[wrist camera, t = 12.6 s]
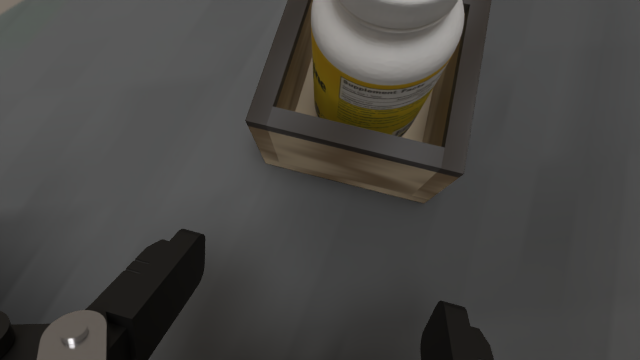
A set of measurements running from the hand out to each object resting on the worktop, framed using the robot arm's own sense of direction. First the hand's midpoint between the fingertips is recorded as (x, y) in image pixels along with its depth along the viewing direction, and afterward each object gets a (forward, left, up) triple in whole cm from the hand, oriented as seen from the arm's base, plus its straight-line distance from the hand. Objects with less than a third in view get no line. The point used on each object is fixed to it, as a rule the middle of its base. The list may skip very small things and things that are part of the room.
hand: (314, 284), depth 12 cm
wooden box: (0, -11, -8) cm, 14 cm away
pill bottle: (0, -11, -8) cm, 13 cm away
